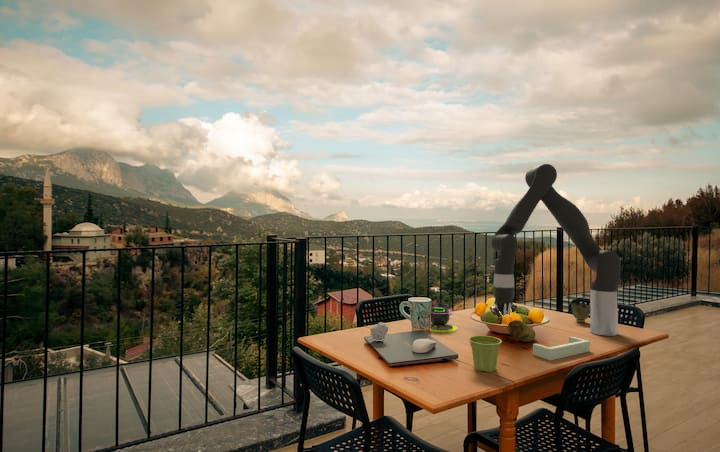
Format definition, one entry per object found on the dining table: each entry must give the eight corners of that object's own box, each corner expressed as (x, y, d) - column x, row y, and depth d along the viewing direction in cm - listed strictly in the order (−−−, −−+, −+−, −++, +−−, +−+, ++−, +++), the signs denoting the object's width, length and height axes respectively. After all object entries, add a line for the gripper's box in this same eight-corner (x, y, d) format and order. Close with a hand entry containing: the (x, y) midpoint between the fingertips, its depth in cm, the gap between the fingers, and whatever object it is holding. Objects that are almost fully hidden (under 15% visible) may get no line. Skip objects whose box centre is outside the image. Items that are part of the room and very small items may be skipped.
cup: (574, 323, 178) (574, 305, 178) (568, 320, 185) (569, 302, 186) (593, 324, 177) (593, 306, 177) (586, 320, 184) (586, 303, 184)
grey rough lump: (386, 344, 145) (386, 325, 145) (367, 342, 147) (367, 323, 147) (390, 340, 150) (390, 321, 150) (372, 338, 153) (372, 319, 153)
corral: (571, 346, 144) (571, 336, 144) (589, 351, 138) (589, 341, 138) (532, 354, 134) (532, 344, 134) (550, 360, 129) (550, 349, 129)
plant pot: (483, 376, 114) (483, 345, 114) (462, 365, 123) (462, 337, 123) (508, 371, 118) (508, 342, 118) (486, 362, 127) (486, 334, 127)
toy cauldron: (463, 327, 171) (463, 301, 171) (446, 334, 160) (446, 306, 160) (432, 322, 181) (432, 297, 181) (414, 328, 169) (414, 301, 169)
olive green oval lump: (545, 342, 148) (545, 320, 149) (516, 346, 144) (516, 323, 144) (528, 337, 156) (528, 316, 156) (501, 339, 152) (501, 318, 152)
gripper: (508, 283, 165) (507, 326, 165) (484, 285, 158) (483, 329, 158) (523, 285, 158) (523, 330, 158) (499, 287, 152) (498, 334, 152)
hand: (503, 329), depth 158 cm, fingers closed
